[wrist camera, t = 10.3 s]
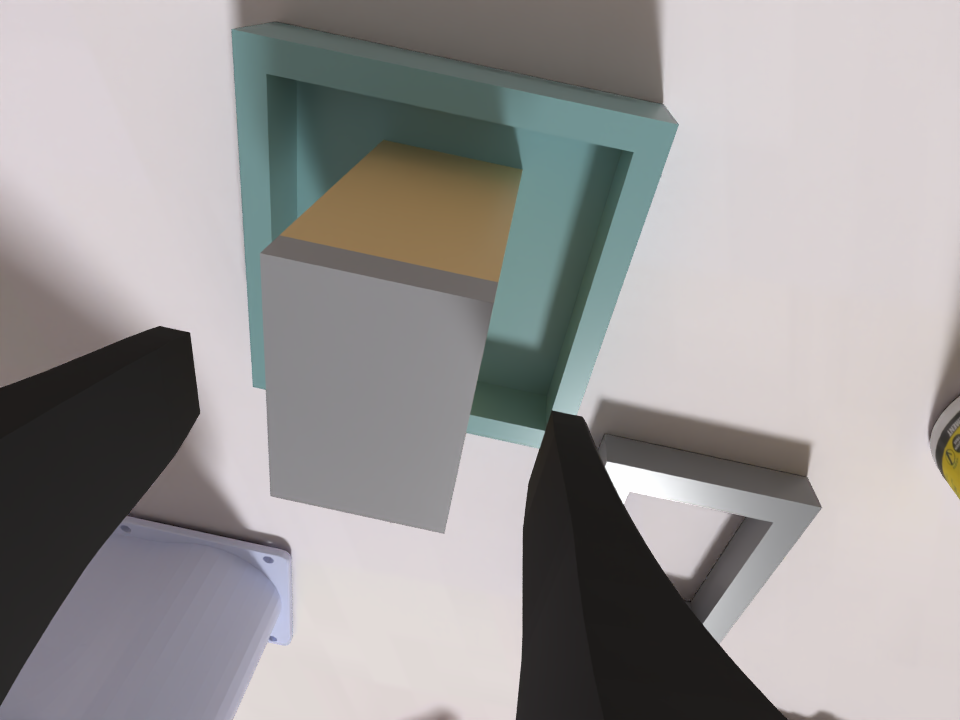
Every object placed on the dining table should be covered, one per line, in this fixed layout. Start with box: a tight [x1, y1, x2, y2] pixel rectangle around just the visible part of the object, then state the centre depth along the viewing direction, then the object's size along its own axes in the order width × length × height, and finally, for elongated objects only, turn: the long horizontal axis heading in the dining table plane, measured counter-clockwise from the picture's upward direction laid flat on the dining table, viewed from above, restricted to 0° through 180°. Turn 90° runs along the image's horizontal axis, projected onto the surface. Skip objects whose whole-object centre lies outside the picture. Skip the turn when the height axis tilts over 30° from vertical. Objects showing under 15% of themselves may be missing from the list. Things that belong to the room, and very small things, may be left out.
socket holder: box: [598, 434, 822, 644], centre depth 24 cm, size 8×10×2 cm
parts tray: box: [231, 22, 679, 449], centre depth 18 cm, size 11×11×2 cm
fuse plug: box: [260, 140, 523, 534], centre depth 15 cm, size 4×6×8 cm, turn 170°
